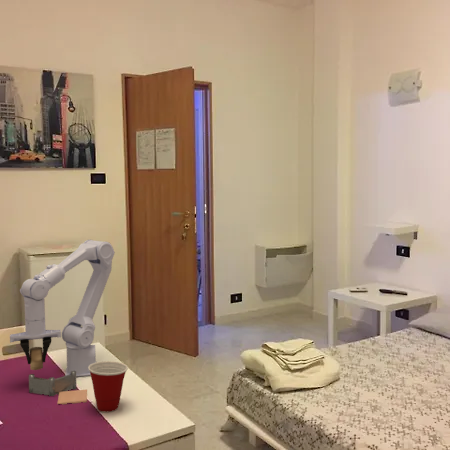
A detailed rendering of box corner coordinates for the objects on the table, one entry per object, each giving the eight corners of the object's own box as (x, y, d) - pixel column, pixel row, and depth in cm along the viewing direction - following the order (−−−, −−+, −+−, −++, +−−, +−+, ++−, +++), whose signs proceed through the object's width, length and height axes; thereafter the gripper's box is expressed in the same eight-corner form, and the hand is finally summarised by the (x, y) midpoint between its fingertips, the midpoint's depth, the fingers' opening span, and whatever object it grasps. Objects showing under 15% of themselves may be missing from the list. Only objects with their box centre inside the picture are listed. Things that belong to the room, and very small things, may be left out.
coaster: (87, 391, 158) (87, 389, 157) (86, 402, 150) (86, 400, 150) (59, 393, 156) (59, 391, 156) (57, 404, 148) (57, 403, 148)
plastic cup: (134, 410, 144) (133, 368, 143) (95, 419, 139) (94, 375, 138) (120, 396, 154) (120, 356, 153) (84, 404, 148) (83, 363, 147)
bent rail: (76, 387, 160) (76, 370, 160) (76, 394, 155) (75, 377, 155) (29, 391, 157) (29, 374, 157) (27, 398, 152) (26, 381, 151)
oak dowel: (43, 365, 162) (42, 346, 162) (42, 369, 159) (41, 350, 158) (31, 366, 161) (30, 347, 161) (29, 370, 158) (29, 351, 157)
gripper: (59, 313, 165) (60, 355, 166) (9, 317, 160) (11, 360, 161) (60, 319, 158) (62, 362, 160) (9, 323, 153) (10, 368, 155)
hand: (36, 362), depth 160 cm, fingers closed on oak dowel, 4 cm apart
